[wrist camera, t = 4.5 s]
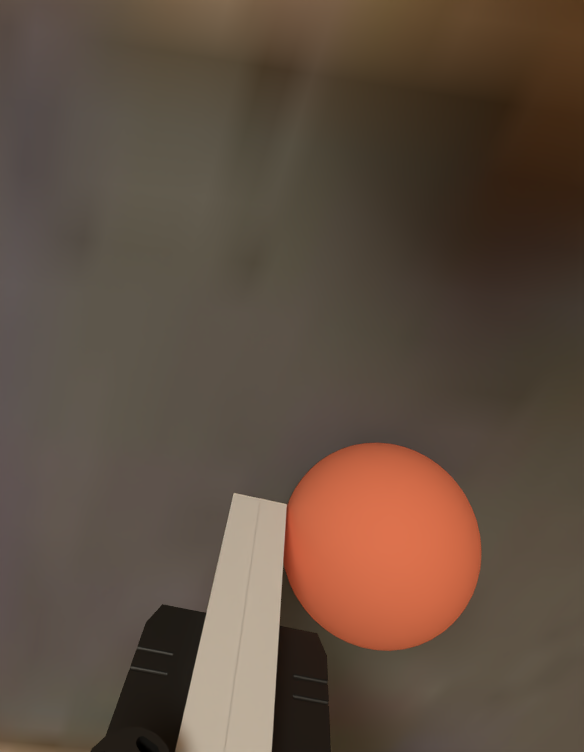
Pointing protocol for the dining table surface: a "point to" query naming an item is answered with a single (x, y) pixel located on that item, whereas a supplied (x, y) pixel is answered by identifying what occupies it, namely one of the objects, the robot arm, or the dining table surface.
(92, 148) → the dining table surface
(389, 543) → the ball
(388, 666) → the dining table surface
